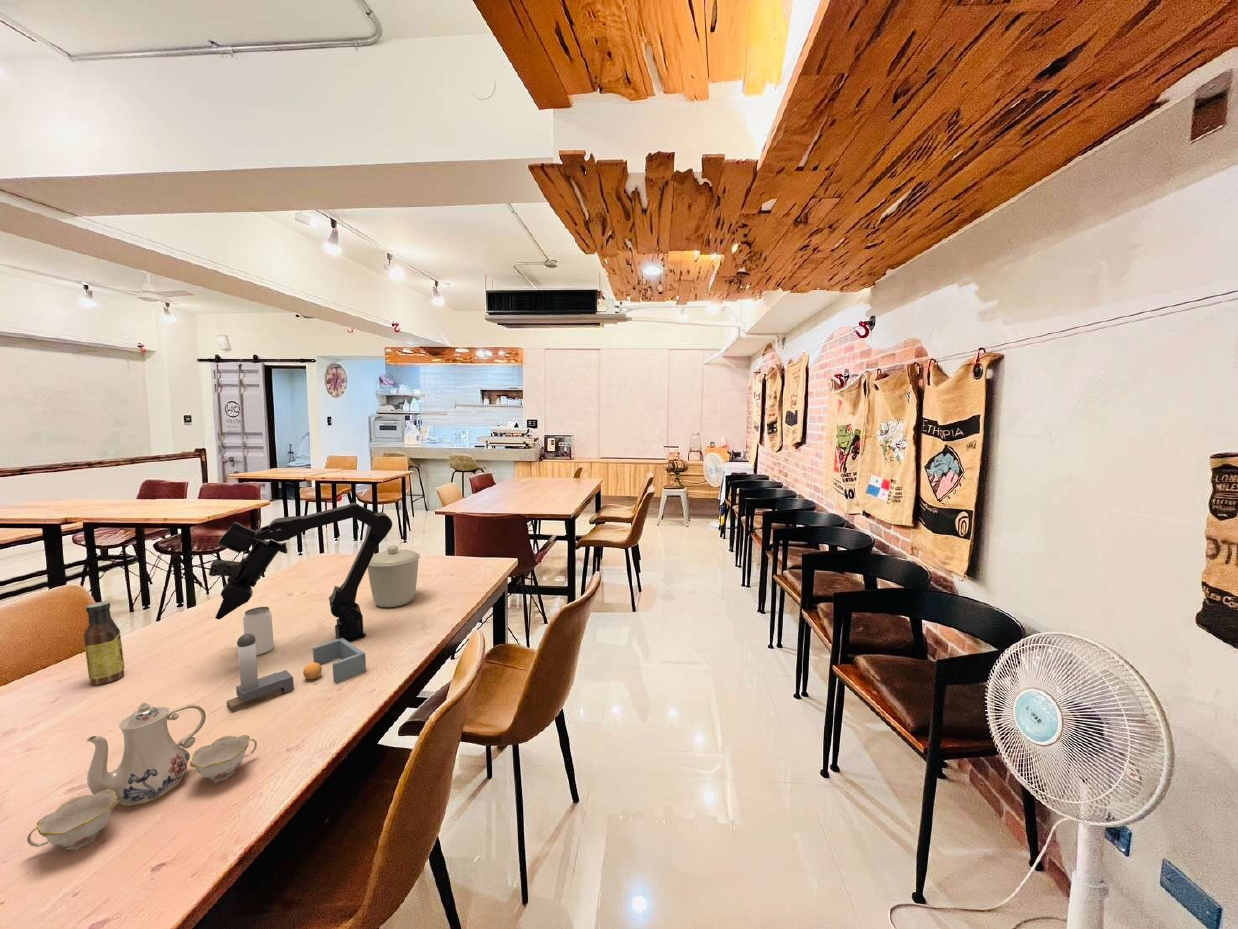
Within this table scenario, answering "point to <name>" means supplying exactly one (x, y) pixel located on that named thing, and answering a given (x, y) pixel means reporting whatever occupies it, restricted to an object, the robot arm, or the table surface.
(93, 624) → the sauce bottle
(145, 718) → the chinaware
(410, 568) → the canister
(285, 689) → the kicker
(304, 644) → the table surface
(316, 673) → the ball
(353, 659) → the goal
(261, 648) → the can
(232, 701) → the rail
